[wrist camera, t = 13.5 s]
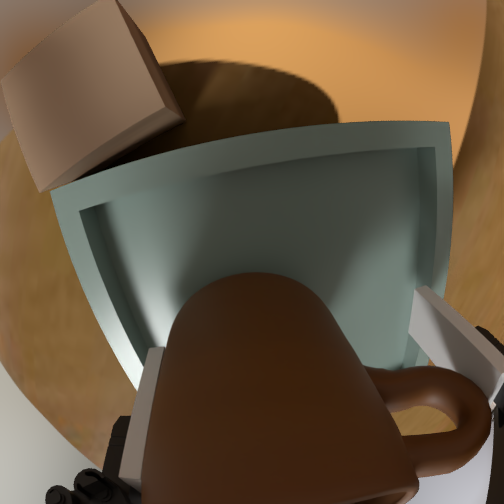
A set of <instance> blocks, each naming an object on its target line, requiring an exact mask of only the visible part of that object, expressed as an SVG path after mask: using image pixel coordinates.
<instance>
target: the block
mask: <svg viewBox="0 0 504 504" xmlns="http://www.w3.org/2000/svg"><path fill="white" fill-rule="evenodd" d="M1 86H2V89H3V94H4V97H5V101H6V105H7V108H8V111H9V115H10V118H11V121H12V125H13V128H14V131H15V133H16V136H17V139H18V142H19V145H20V147H21V150H22V153H23V155H24V158H25V160H26V163H27V165H28V168H29V170H30V172H31V175H32V177H33V179H34V182H35V184H36V186H37V188H38V190H39V193H41V192H43V191H46V190H49V189H52V188H55V187H58V186H60V185H63V184H66V183H70V182H73V181H76V180H79V179H82V178H85V177H88V176H91V175H94V174H97V173H99V172H100V171H102V170H103V169H105V168H106V167H108V166H109V165H111V164H112V163H114V162H115V161H117V160H118V159H120V158H122V157H123V156H125V155H126V154H128V153H130V152H131V151H133V150H135V149H136V148H138V147H140V146H141V145H143V144H145V143H146V142H148V141H150V140H152V139H153V138H155V137H157V136H159V135H161V134H162V133H164V132H166V131H168V130H170V129H172V128H174V127H176V126H178V125H179V124H181V123H183V122H185V121H186V119H185V117H184V115H183V113H182V111H181V109H180V107H179V105H178V103H177V101H176V99H175V97H174V95H173V93H172V91H171V89H170V87H169V85H168V82H167V80H166V78H165V76H164V74H163V72H162V70H161V68H160V66H159V64H158V62H157V60H156V58H155V56H154V54H153V51H152V49H151V47H150V45H149V43H148V41H147V39H146V37H145V36H144V35H143V33H142V32H141V31H140V29H139V28H138V27H137V25H136V24H135V23H134V22H133V20H132V19H131V17H130V16H129V15H128V13H127V12H126V11H125V10H124V8H123V7H122V6H121V4H120V3H119V2H118V0H98V1H97V2H95V3H93V4H92V5H90V6H89V7H87V8H86V9H84V10H83V11H81V12H80V13H78V14H77V15H75V16H74V17H72V18H71V19H70V20H68V21H67V22H65V23H64V24H63V25H61V26H60V27H59V28H57V29H56V30H55V31H54V32H52V33H51V34H50V35H49V36H47V37H46V38H45V39H44V40H43V41H41V42H40V43H39V44H38V45H37V46H36V47H35V48H33V49H32V50H31V51H30V52H29V53H28V54H27V55H26V56H24V58H22V59H21V60H20V61H19V62H18V63H17V64H16V65H15V66H14V67H13V68H12V69H11V70H10V71H9V72H8V73H7V74H6V75H5V77H4V78H3V79H2V80H1Z"/></svg>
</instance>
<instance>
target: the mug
mask: <svg viewBox="0 0 504 504" xmlns="http://www.w3.org/2000/svg"><path fill="white" fill-rule="evenodd" d="M414 406H430V407H434V408H436V409H438V410H440V411H442V412H443V413H445V414H446V415H447V416H448V417H449V418H450V419H451V420H452V421H453V422H454V424H455V426H456V427H457V429H455V430H452V431H449V432H441V433H432V434H422V435H409V436H401V433H400V431H399V429H398V427H397V425H396V423H395V421H394V419H393V418H392V416H391V414H390V413H393V412H399V411H402V410H406V409H409V408H411V407H414ZM491 421H492V412H491V408H490V404H489V401H488V399H487V397H486V396H485V394H484V393H483V391H482V390H481V389H480V388H479V387H478V386H477V385H476V384H475V383H474V382H473V381H472V380H470V379H469V378H467V377H465V376H464V375H462V374H460V373H458V372H455V371H453V370H451V369H447V368H443V367H438V366H414V367H408V368H404V369H400V370H394V371H392V370H387V369H383V368H374V367H369V366H365V365H363V364H362V363H361V361H360V359H359V357H358V356H357V354H356V352H355V351H354V349H353V347H352V346H351V344H350V343H349V341H348V340H347V338H346V337H345V335H344V333H343V332H342V330H341V328H340V327H339V325H338V323H337V322H336V320H335V318H334V317H333V315H332V313H331V312H330V310H329V309H328V308H327V306H326V305H325V304H324V302H323V301H322V300H321V299H320V297H318V296H317V295H316V294H315V293H314V292H313V291H312V290H310V289H309V288H308V287H306V286H305V285H303V284H302V283H300V282H298V281H296V280H294V279H292V278H289V277H286V276H282V275H278V274H273V273H264V272H249V273H241V274H235V275H231V276H227V277H224V278H221V279H219V280H216V281H214V282H212V283H210V284H208V285H206V286H205V287H203V288H201V289H200V290H198V291H197V292H196V293H195V294H193V295H192V296H191V297H190V298H189V299H188V300H187V301H186V302H185V304H184V305H183V306H182V308H181V309H180V311H179V312H178V314H177V315H176V317H175V319H174V321H173V324H172V326H171V329H170V333H169V336H168V340H167V344H166V348H165V353H164V357H163V361H162V366H161V370H160V374H159V378H158V382H157V387H156V391H155V396H154V401H153V406H152V411H151V417H150V422H149V428H148V434H147V440H146V446H145V452H144V458H143V466H142V476H141V503H142V504H405V503H407V502H408V501H409V500H410V499H412V498H413V497H414V496H415V495H416V493H417V492H418V490H419V480H418V478H420V477H429V476H435V475H441V474H447V473H451V472H453V471H455V470H457V469H459V468H461V467H462V466H464V465H465V464H466V463H467V462H469V461H470V460H471V459H472V458H473V457H474V456H475V455H477V453H478V451H479V450H480V449H481V448H482V446H483V445H484V443H485V441H486V440H487V438H488V436H489V435H490V430H491Z"/></svg>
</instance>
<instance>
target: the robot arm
mask: <svg viewBox="0 0 504 504" xmlns="http://www.w3.org/2000/svg"><path fill="white" fill-rule="evenodd" d="M408 333H409V334H410V335H411V336H412V337H413V339H414V340H415V341H416V342H417V343H418V345H419V346H420V347H421V348H422V349H423V351H424V352H425V353H426V354H427V355H428V357H429V358H430V359H431V360H432V362H433V363H434V364H435V365H436V366H438V367H443V368H447V369H451V370H453V371H455V372H458V373H460V374H462V375H464V376H465V377H467V378H469V379H470V380H472V381H473V382H474V383H475V384H476V385H477V386H478V387H479V388H480V389H481V390H482V391H483V393H484V394H485V396H486V397H487V399H488V401H489V404H490V406H491V404H492V402H493V401H494V403H495V404H496V406H495V407H494V409H493V411H492V417H493V415H494V418H493V420H492V421H494V439H493V456H492V466H491V475H490V483H489V489H488V495H487V501H486V504H504V345H503V344H502V343H500V342H499V341H498V340H497V339H496V338H494V336H493V335H492V334H491V333H490V332H489V331H488V330H486V329H484V328H482V327H480V326H477V327H475V328H474V327H473V326H472V325H471V324H470V323H469V322H468V321H467V320H466V319H465V318H464V317H462V316H461V315H460V314H459V313H458V312H457V311H456V310H455V309H453V308H452V307H451V306H450V305H449V304H448V303H447V302H445V301H444V300H443V299H442V298H441V297H440V296H438V295H437V294H436V293H435V292H434V291H432V290H431V289H430V288H429V287H428V286H426V285H425V286H422V287H419V288H416V289H414V296H413V304H412V311H411V318H410V324H409V330H408ZM164 353H165V346H162V347H154V348H149V351H148V354H147V358H146V361H145V365H144V368H143V372H142V376H141V379H140V383H139V387H138V391H137V395H136V399H135V403H134V407H133V411H132V415H131V416H120V417H119V418H118V420H117V421H116V423H115V424H114V425H113V429H112V433H111V438H110V441H109V446H108V449H107V453H106V457H105V461H104V466H103V470H102V473H101V472H100V471H98V470H96V469H90V468H88V469H84V470H82V471H81V472H80V473H78V474H77V476H76V478H75V481H74V491H69V490H68V489H67V488H65V487H63V486H59V485H56V486H53V487H51V488H50V489H49V490H48V491H47V493H46V499H45V501H46V504H142V503H141V476H142V466H143V458H144V452H145V446H146V440H147V434H148V428H149V422H150V417H151V411H152V406H153V401H154V396H155V391H156V387H157V382H158V378H159V374H160V370H161V366H162V361H163V357H164Z"/></svg>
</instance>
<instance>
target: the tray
mask: <svg viewBox="0 0 504 504" xmlns="http://www.w3.org/2000/svg"><path fill="white" fill-rule="evenodd" d="M50 193H51V197H52V201H53V205H54V208H55V212H56V215H57V218H58V222H59V225H60V228H61V231H62V234H63V237H64V240H65V243H66V246H67V249H68V252H69V255H70V257H71V260H72V263H73V265H74V268H75V270H76V273H77V275H78V278H79V280H80V283H81V285H82V287H83V290H84V292H85V294H86V297H87V299H88V301H89V303H90V306H91V308H92V310H93V312H94V314H95V316H96V318H97V320H98V322H99V325H100V327H101V329H102V330H103V332H104V334H105V336H106V338H107V340H108V342H109V344H110V346H111V348H112V349H113V351H114V353H115V355H116V357H117V358H118V360H119V362H120V364H121V365H122V367H123V369H124V371H125V372H126V374H127V376H128V377H129V379H130V380H131V382H132V384H133V385H134V387H135V388H136V390H137V391H138V387H139V383H140V379H141V376H142V372H143V368H144V365H145V361H146V358H147V354H148V351H149V348H154V347H162V346H165V348H166V344H167V340H168V336H169V333H170V329H171V326H172V324H173V321H174V319H175V317H176V315H177V314H178V312H179V311H180V309H181V308H182V306H183V305H184V304H185V302H186V301H187V300H188V299H189V298H190V297H191V296H192V295H193V294H195V293H196V292H197V291H198V290H200V289H201V288H203V287H205V286H206V285H208V284H210V283H212V282H214V281H216V280H219V279H221V278H224V277H227V276H231V275H235V274H241V273H249V272H264V273H273V274H278V275H282V276H286V277H289V278H292V279H294V280H296V281H298V282H300V283H302V284H303V285H305V286H306V287H308V288H309V289H310V290H312V291H313V292H314V293H315V294H316V295H317V296H318V297H320V299H321V300H322V301H323V302H324V304H325V305H326V306H327V308H328V309H329V310H330V312H331V313H332V315H333V317H334V318H335V320H336V322H337V323H338V325H339V327H340V328H341V330H342V332H343V333H344V335H345V337H346V338H347V340H348V341H349V343H350V344H351V346H352V347H353V349H354V351H355V352H356V354H357V356H358V357H359V359H360V361H361V363H362V364H363V365H365V366H369V367H374V368H383V369H387V370H392V371H394V370H400V369H404V368H408V367H414V366H427V365H428V361H429V357H428V355H427V354H426V353H425V352H424V351H423V349H422V348H421V347H420V346H419V345H418V343H417V342H416V341H415V340H414V339H413V337H412V336H411V335H410V334H409V333H408V330H409V324H410V318H411V311H412V304H413V296H414V289H416V288H419V287H422V286H425V285H426V286H428V287H429V288H430V289H431V290H432V291H434V292H435V293H436V294H437V295H438V296H440V297H441V298H442V299H443V298H444V292H445V286H446V280H447V273H448V265H449V256H450V246H451V234H452V218H453V164H452V147H451V136H450V127H449V122H435V121H368V122H350V123H335V124H323V125H313V126H304V127H295V128H287V129H280V130H273V131H266V132H260V133H254V134H248V135H242V136H237V137H231V138H226V139H221V140H216V141H211V142H207V143H202V144H198V145H193V146H189V147H185V148H181V149H177V150H173V151H169V152H165V153H161V154H158V155H154V156H151V157H147V158H144V159H140V160H137V161H133V162H130V163H127V164H124V165H120V166H117V167H114V168H111V169H108V170H105V171H102V172H99V173H97V174H94V175H91V176H88V177H85V178H83V179H80V180H77V181H75V182H72V183H69V184H67V185H64V186H62V187H59V188H57V189H54V190H52V191H50Z"/></svg>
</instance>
